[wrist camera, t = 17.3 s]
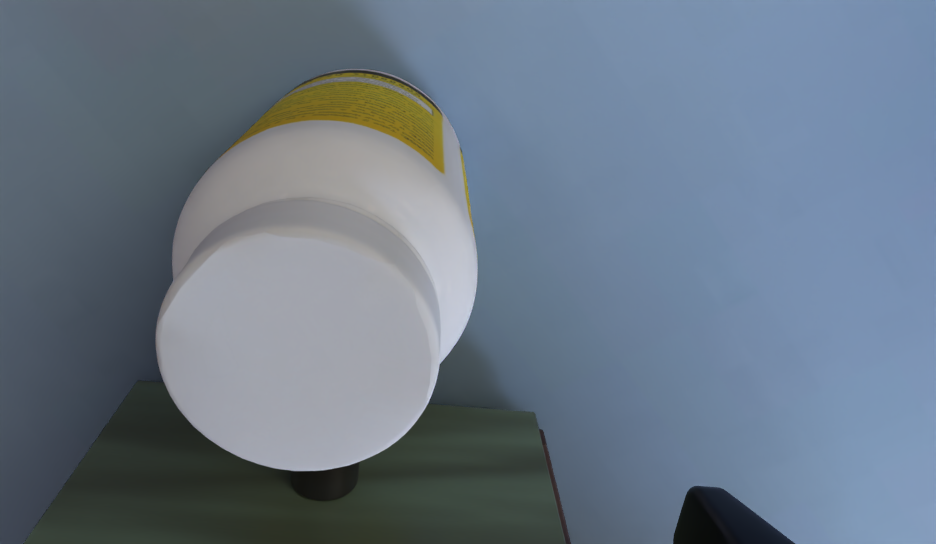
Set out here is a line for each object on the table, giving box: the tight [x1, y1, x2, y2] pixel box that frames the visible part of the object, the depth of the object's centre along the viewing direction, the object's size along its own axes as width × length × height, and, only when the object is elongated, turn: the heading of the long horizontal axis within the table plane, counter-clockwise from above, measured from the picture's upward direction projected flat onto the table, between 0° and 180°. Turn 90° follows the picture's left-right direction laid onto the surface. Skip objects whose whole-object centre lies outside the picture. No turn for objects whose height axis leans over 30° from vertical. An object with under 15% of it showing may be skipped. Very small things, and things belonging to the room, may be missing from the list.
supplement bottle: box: [155, 69, 478, 471], centre depth 14 cm, size 5×5×10 cm
